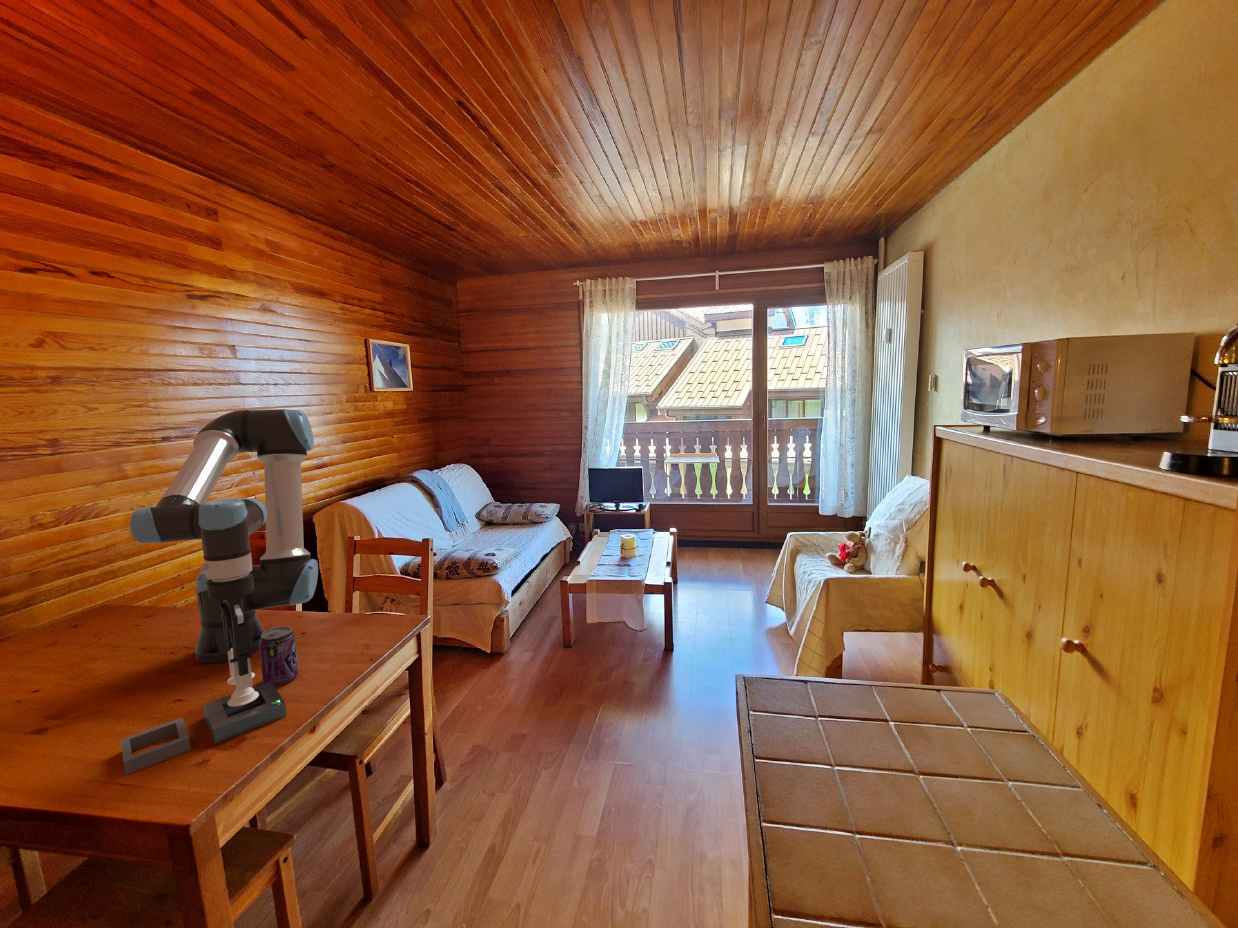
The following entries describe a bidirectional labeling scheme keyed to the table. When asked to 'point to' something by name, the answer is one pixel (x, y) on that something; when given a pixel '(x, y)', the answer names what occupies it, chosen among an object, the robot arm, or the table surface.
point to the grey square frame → (157, 752)
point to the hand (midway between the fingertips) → (241, 682)
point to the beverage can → (278, 655)
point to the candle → (241, 691)
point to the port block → (243, 713)
